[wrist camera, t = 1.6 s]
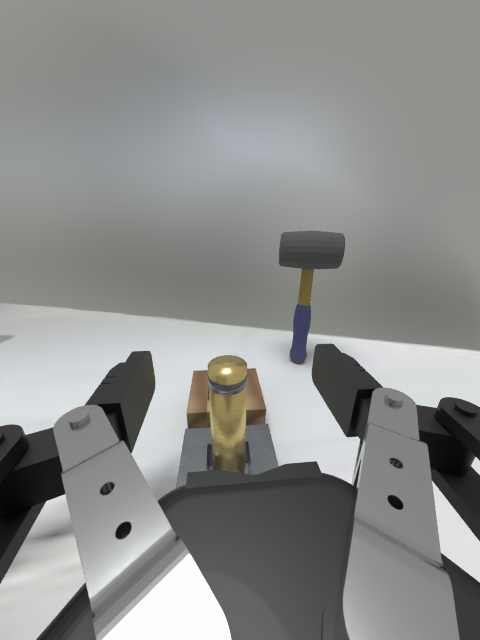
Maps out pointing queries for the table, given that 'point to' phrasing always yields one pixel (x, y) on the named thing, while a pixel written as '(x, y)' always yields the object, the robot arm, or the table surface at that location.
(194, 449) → the socket block
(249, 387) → the block
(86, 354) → the table surface
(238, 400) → the brass peg
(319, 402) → the table surface
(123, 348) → the table surface
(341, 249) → the rubber mallet
